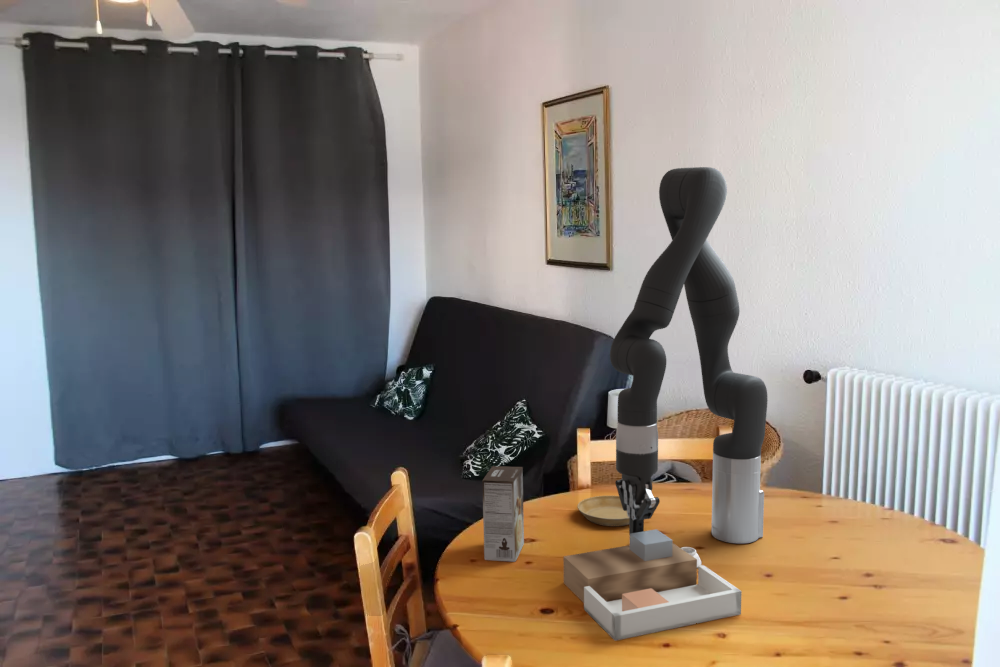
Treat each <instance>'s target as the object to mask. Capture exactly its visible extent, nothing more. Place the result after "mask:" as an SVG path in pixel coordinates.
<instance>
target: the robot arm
mask: <svg viewBox="0 0 1000 667" xmlns="http://www.w3.org/2000/svg"><path fill="white" fill-rule="evenodd" d="M727 185H728V184H727V181H726V179H725V176H724V175H723V174H722V172H721V171H720V170H718V169H716V168H714V167H710V166H708V167H707V166H703V167H701V166H700V167H696V166H695V167H681V168H680V167H678V168H672V169H670V170H668V171H666V172H665V173H664V175H663V176H662V178H661V179H660V183H659V189H658V190H659V191H658V194H659V196H658V198H659V203H660V207H661V208H660V209H661V210H662V214H663V217H664V220H665V223H666V226H667V228H668V232H669V235H670V237H671V241H670V243H669V244H668V246H666V248H665V249H664V251H663V252H662V253H661V254H660V255H659V256H658V258H657V259H656V260H655V261H654V262H653V263H652V265H650V266H651V267H649V269H648V271H647V272H646V274H645V276H644V278H643V280H642V283H641V286H640V288H639V291H638V295H637V298H636V299H635V300H636V301H635V302H634V306H633V309H632V310H631V312H630V313H629V315H628V316H627V317H626V319H625V321H624V322H623V324H622V325H621V327H620V328H619V330H618V331H617V333H616V334H615V337H614V338H613V341H611V342H612V344H611V346H610V350H609V352H610V353H609V359H610V363H611V365H612V368H614V370H615V371H617V372H619V373H621V374H623V375H628V376H632V382H631V385H630V387H628V388H624V389H622V390H621V391H620V392H619V394H618V396H617V423H616V424H617V425H616V434H615V469H616V471H617V472H618V473H619V474H621V479H617V480H615V483H614V484H615V487H616V492H617V493H618V496H619V497H620V501H621V504H622V508H623V510H624V511H627V516H628V517H630V518H629V526H628V527H629V529H628V530H629V531H628V533H629V536H630V534H631V533H637V532H643V531H645V528H644V527H645V520H649V519H652V517H653V515H654V514H655V512H656V510H657V508H658V506H659V504H660V502H661V501H660V498H659V496H655V497H654V495H653V491H652V490H653V482H652V477H653V476H654V475H655V474H656V473H657V472H658V470H659V431H658V398H659V394H660V393H661V389H662V386H663V385H662V384H663V381H664V377H665V373H666V369H667V356H666V351H665V348H664V346H663V345H662V344H661V343H660V341H658V340H655V339H652V338H651V336H652V335H653V334H654V332H656V331H658V330H663V329H665V328H668V326H669V325H670V323H671V321H672V320H673V316H674V313H675V310H676V308H677V305H678V301H679V298H680V296H681V292H682V290H683V287H684V291H685V297H686V302H687V306H688V311H689V314H690V318H691V321H692V325H693V328H694V333H695V334H694V335H695V340H696V345H697V350H698V355H699V362H700V369H701V380H702V389H703V396H704V400H705V403H706V406H707V408H708V410H709V411H710V413H712V414H713V415H715V416H718V417H721V418H725V419H729V420H732V421H733V426H732V432H728V433H727V432H726V433H724V434H720V435H719V434H718V435H717V436H716V437H715V438H714V440H713V443H712V444H713V445H712V484H711V485H712V487H711V488H712V489H711V490H712V491H711V493H712V494H711V495H712V496H711V535H712V537H713V538H714V539H717V540H718V541H721V542H725V543H730V544H749V543H754V542H756V541H758V539H759V538H763V537H764V508H765V507H764V506H765V492H764V490H762V489H761V462H762V461H761V459H762V448H763V447H762V446H763V444H764V441H765V436H766V422H767V415H768V414H767V412H768V401H769V400H768V389H767V385H766V384H765V382H764V380H763V379H762V378H761V377H758V376H754V375H750V374H744V373H739V372H734V371H733V370H732V367H731V362H730V357H729V343H730V340H731V337H732V335H733V333H734V331H735V329H736V327H737V324H738V321H739V316H740V312H741V311H740V304H739V297H738V293H737V292H738V291H737V287H736V284H735V280H734V277H733V275H732V273H731V271H730V269H728V266H727V264H726V263H725V262H724V261H723V259H721V257H720V256H719V254H718V253H717V252H716V250H715V249H714V248H713V246H712V245H711V243H710V242H709V241H708V240H709V239H708V237H709V235H710V233H711V231H712V229H713V228H714V226H715V224H716V222H717V220H718V218H719V216H720V215H721V212H722V210H723V207H724V205H725V204H726V203H725V202H726V200H727V199H726V198H727V194H728V186H727Z"/></svg>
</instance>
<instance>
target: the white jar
mask: <svg viewBox="0 0 1000 667" xmlns="http://www.w3.org/2000/svg"><path fill="white" fill-rule="evenodd" d="M680 548H681V549H682V550H684V551H685V552H687V553H688V554H690V555H691V556H693V557H694V558H696V559H697V569H698V566H701V565H702V560H701V558H700V556H699V554H698V553H697V550H696V549H695V548H694V547H690V546H683V547H680Z"/></svg>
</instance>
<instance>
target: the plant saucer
mask: <svg viewBox="0 0 1000 667" xmlns="http://www.w3.org/2000/svg"><path fill="white" fill-rule="evenodd" d="M577 509H578V511H579V512H580V513H581V515H582V516H583V517H584V518H586V519H587V520H588V521H590V522H591V523H593V524H595V525H600V526H604V527H605V526H606V527H622V526H628V525H629V518H630V517H628V516H627V511H624V510H623V508H622V504H621V501H620V497H619V495H598V496H592V497H588V498H584V499H582V500H580V501H579V502H578V504H577Z"/></svg>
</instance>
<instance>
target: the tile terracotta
mask: <svg viewBox="0 0 1000 667" xmlns="http://www.w3.org/2000/svg"><path fill="white" fill-rule="evenodd" d="M667 602H668V601H667V600H666V599H665V598H663V597H662V596H661V595H659V594H658V593H657V592H656V591H654V590H653V589H652V588H650V589H645V590H640V591H635V592H630V593H625V594H622V611H627V610H632V609H637V608H642V607H647V606H652V605H657V604H662V603H667Z"/></svg>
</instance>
